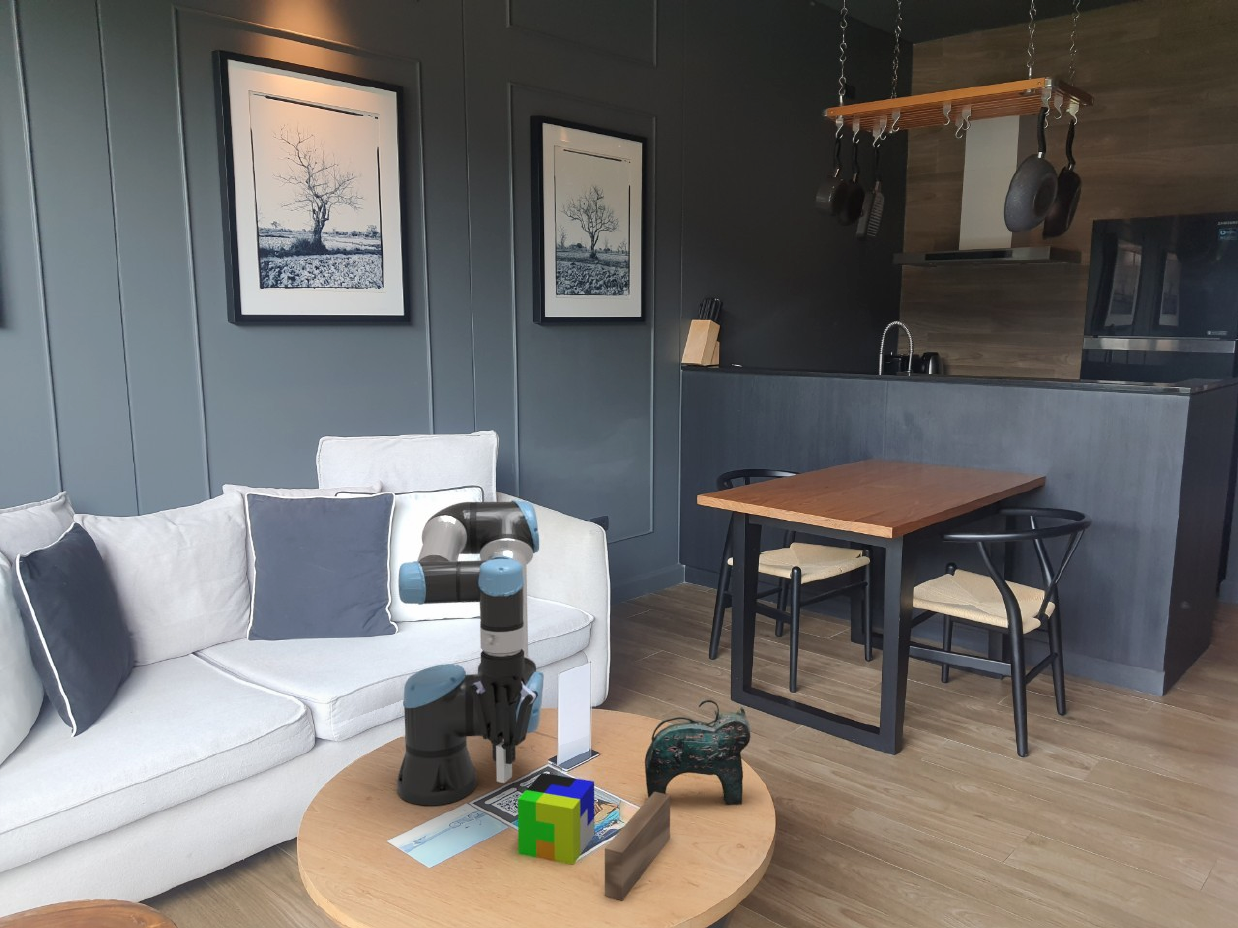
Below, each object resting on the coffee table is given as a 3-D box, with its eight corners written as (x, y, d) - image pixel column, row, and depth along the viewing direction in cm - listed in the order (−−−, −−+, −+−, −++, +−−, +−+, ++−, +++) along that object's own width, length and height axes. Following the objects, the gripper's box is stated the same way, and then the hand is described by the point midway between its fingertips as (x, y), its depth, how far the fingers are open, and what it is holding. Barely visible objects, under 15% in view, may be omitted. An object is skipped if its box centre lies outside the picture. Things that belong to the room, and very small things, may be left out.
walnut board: (604, 895, 145) (604, 848, 143) (654, 834, 163) (654, 791, 161) (622, 900, 143) (622, 852, 142) (669, 837, 161) (670, 794, 160)
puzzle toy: (594, 834, 162) (594, 781, 161) (573, 865, 153) (572, 808, 152) (542, 825, 166) (541, 772, 164) (518, 854, 156) (517, 798, 155)
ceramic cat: (746, 792, 177) (748, 693, 175) (752, 810, 171) (755, 707, 168) (643, 794, 177) (644, 694, 174) (646, 811, 170) (646, 708, 168)
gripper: (458, 650, 158) (461, 780, 161) (523, 661, 153) (525, 795, 156) (482, 638, 165) (485, 763, 168) (545, 648, 160) (547, 777, 163)
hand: (504, 778), depth 162 cm, fingers closed
